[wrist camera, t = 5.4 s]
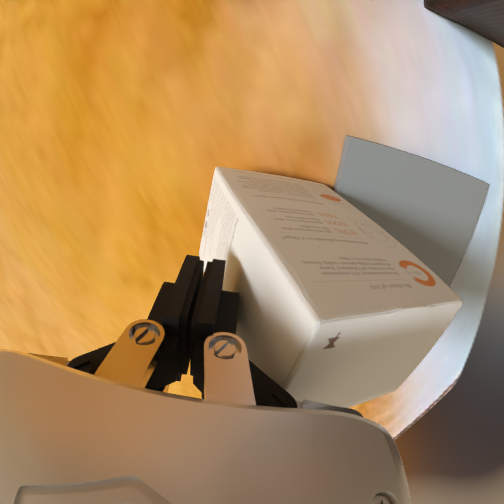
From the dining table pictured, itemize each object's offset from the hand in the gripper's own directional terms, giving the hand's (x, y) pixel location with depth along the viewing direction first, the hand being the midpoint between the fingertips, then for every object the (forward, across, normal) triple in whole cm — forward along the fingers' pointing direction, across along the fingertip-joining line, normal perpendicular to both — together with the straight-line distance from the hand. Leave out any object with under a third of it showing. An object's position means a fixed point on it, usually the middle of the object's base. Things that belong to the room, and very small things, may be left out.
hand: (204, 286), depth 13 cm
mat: (+10, -14, +1) cm, 17 cm away
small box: (+9, -3, 0) cm, 9 cm away
